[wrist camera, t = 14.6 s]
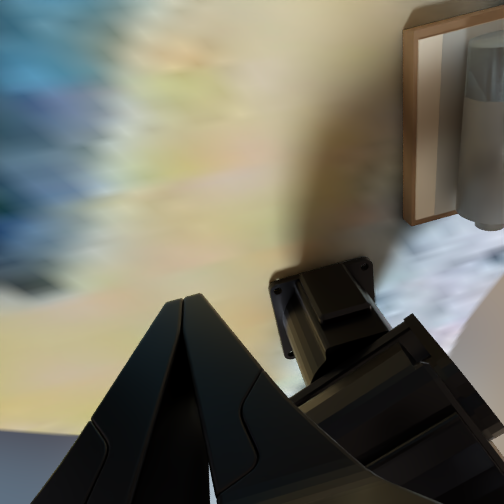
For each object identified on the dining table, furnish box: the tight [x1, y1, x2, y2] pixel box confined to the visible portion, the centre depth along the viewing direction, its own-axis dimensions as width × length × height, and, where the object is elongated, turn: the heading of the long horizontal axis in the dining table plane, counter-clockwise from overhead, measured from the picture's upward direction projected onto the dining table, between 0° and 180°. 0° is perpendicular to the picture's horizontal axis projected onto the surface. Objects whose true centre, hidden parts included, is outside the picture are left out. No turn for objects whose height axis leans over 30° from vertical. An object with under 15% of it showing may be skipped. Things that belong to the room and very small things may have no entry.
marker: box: [455, 30, 504, 231], centre depth 19 cm, size 9×3×3 cm, turn 12°
